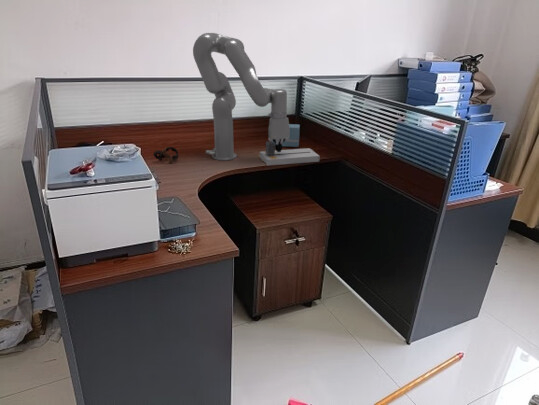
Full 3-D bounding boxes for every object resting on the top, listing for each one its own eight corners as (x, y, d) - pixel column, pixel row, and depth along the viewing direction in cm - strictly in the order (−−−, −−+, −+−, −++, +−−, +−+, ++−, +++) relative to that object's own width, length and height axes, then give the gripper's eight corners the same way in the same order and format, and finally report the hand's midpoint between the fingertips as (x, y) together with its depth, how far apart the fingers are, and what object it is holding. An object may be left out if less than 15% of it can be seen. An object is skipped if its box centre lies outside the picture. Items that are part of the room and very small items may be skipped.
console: (266, 165, 193) (267, 159, 191) (259, 157, 205) (259, 151, 204) (319, 161, 200) (319, 155, 199) (309, 153, 212) (309, 148, 211)
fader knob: (268, 155, 196) (268, 144, 193) (265, 153, 200) (265, 141, 198) (274, 155, 196) (274, 144, 194) (271, 152, 201) (271, 141, 198)
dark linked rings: (173, 157, 203) (177, 145, 198) (177, 170, 198) (182, 158, 193) (150, 155, 196) (154, 142, 191) (153, 168, 191) (158, 155, 186)
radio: (298, 144, 229) (300, 109, 221) (298, 148, 221) (300, 113, 213) (272, 142, 231) (272, 108, 222) (270, 147, 222) (271, 112, 214)
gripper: (266, 117, 186) (266, 154, 194) (295, 115, 190) (294, 152, 197) (262, 114, 193) (262, 150, 200) (290, 113, 196) (290, 148, 204)
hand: (278, 151), depth 199 cm, fingers closed
